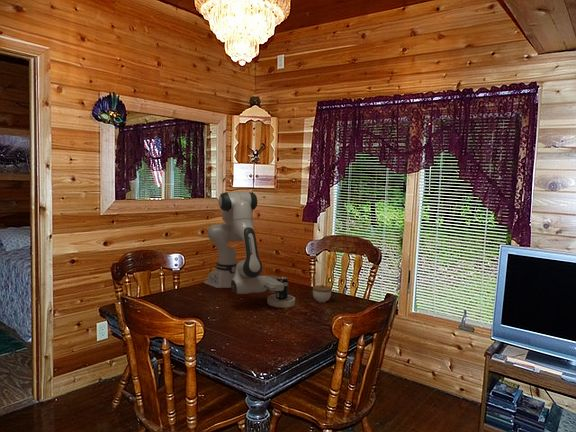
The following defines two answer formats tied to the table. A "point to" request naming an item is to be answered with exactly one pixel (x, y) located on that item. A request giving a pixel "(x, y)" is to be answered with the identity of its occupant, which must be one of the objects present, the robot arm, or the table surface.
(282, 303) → the pale grey round disc
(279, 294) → the beverage can
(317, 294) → the lidded jar
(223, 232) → the robot arm
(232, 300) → the table surface
